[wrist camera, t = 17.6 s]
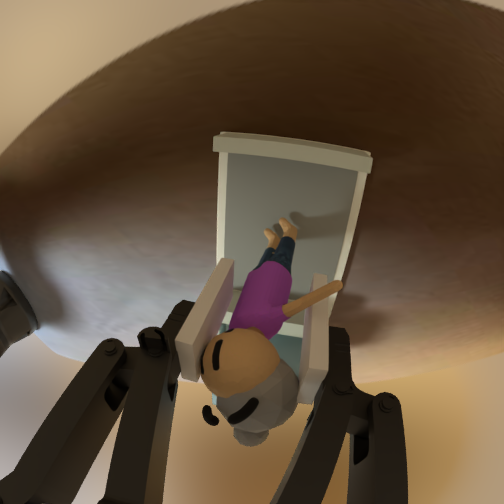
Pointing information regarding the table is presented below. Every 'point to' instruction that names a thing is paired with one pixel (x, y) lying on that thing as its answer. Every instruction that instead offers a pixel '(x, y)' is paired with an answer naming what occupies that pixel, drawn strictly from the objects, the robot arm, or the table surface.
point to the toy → (258, 346)
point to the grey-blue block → (285, 352)
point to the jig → (287, 208)
